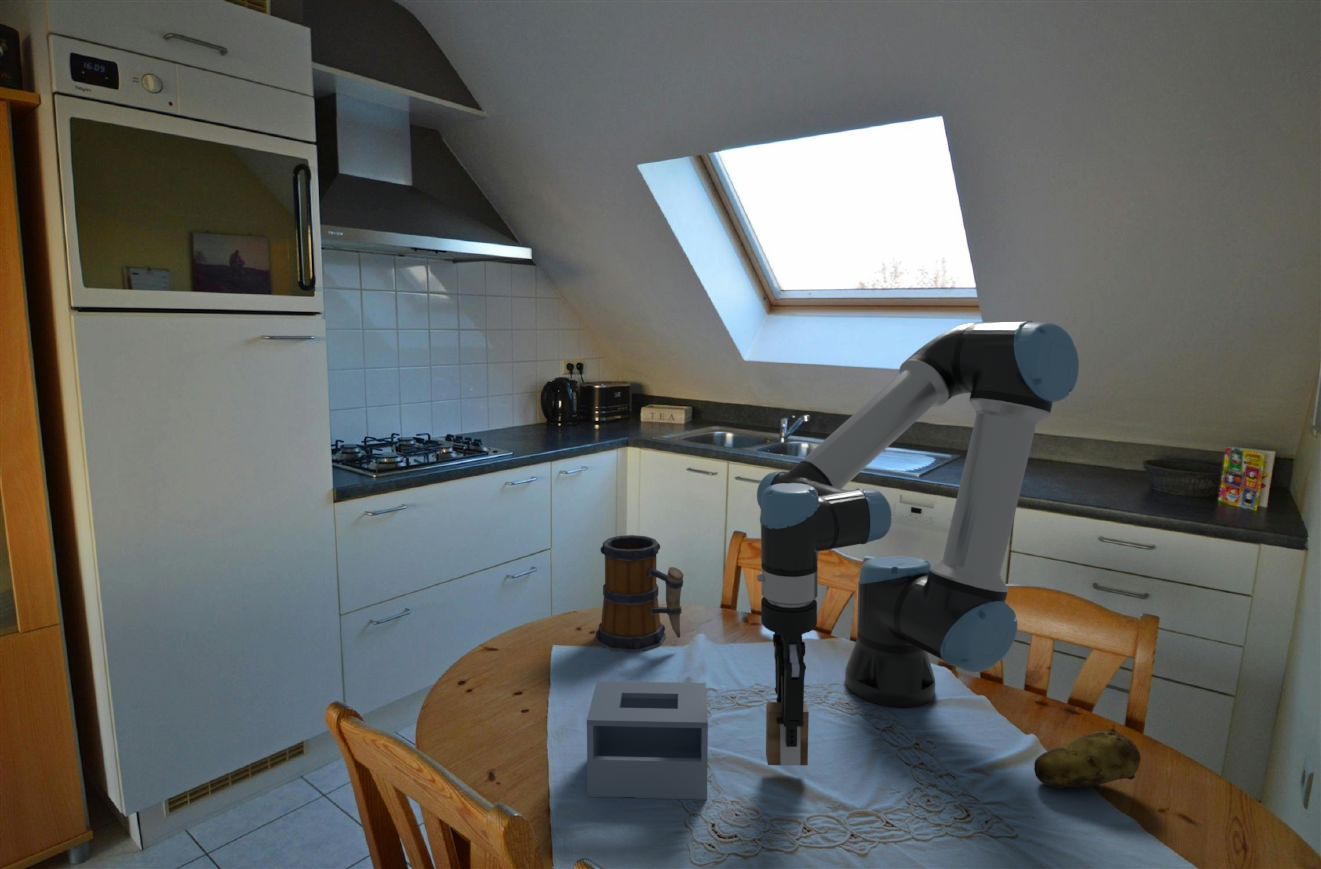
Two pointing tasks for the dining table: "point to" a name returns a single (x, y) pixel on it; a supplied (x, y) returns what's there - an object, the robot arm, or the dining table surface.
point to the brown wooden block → (774, 734)
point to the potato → (1089, 761)
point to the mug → (636, 595)
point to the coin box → (648, 740)
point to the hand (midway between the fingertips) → (788, 756)
